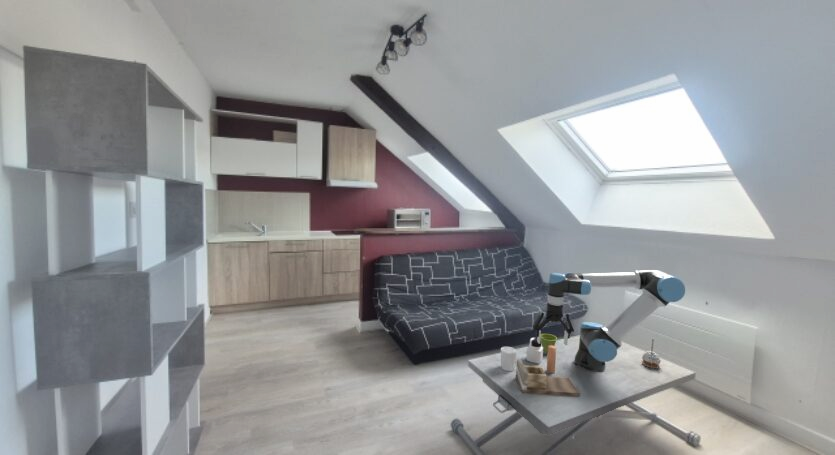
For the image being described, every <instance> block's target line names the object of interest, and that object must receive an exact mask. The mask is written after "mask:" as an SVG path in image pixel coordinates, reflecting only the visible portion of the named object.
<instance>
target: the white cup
mask: <svg viewBox="0 0 835 455" xmlns="http://www.w3.org/2000/svg"><path fill="white" fill-rule="evenodd" d="M516 358H517V350H516V349H515V348H514V347H512V346H511V347H510V346H502V347H501V348H500V368H501V369H502V370H504V371H506V372H513V371H514V370H515V367H516V366H515V364H516V361H517V359H516Z"/></svg>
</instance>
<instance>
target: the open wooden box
mask: <svg viewBox="0 0 835 455" xmlns="http://www.w3.org/2000/svg"><path fill="white" fill-rule="evenodd" d="M523 365H524V367H525V369H526V370H527V372H528V381H527V387H533V388H546V383H547V377H548V375H547V374H546V372H545V370H544V369H543V367H542V366H540V365H525V364H523Z"/></svg>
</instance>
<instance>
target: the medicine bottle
mask: <svg viewBox="0 0 835 455" xmlns="http://www.w3.org/2000/svg"><path fill="white" fill-rule="evenodd" d="M543 355H544V351H543V347H542V341H541V339H540V344H539V343H538V342H537V337H531V338H530V339H529V346H528V347H527V348H526V361H527V362H531V363H534V364H538V365H540V364H541V363H542V361H543V359H544V358H543V357H544V356H543Z"/></svg>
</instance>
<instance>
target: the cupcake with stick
mask: <svg viewBox="0 0 835 455" xmlns="http://www.w3.org/2000/svg"><path fill="white" fill-rule="evenodd" d="M654 343H655V339H654V338H651V348H650V350H647V351H645V352H643V353H642V360H641V363H642V364H643V366H646V367H648V368H652V369H659V368H660V367H661V366H660V363H661V361H662V360H661V358H660V355H659V354H658V353H657V352H655V351H654Z"/></svg>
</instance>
